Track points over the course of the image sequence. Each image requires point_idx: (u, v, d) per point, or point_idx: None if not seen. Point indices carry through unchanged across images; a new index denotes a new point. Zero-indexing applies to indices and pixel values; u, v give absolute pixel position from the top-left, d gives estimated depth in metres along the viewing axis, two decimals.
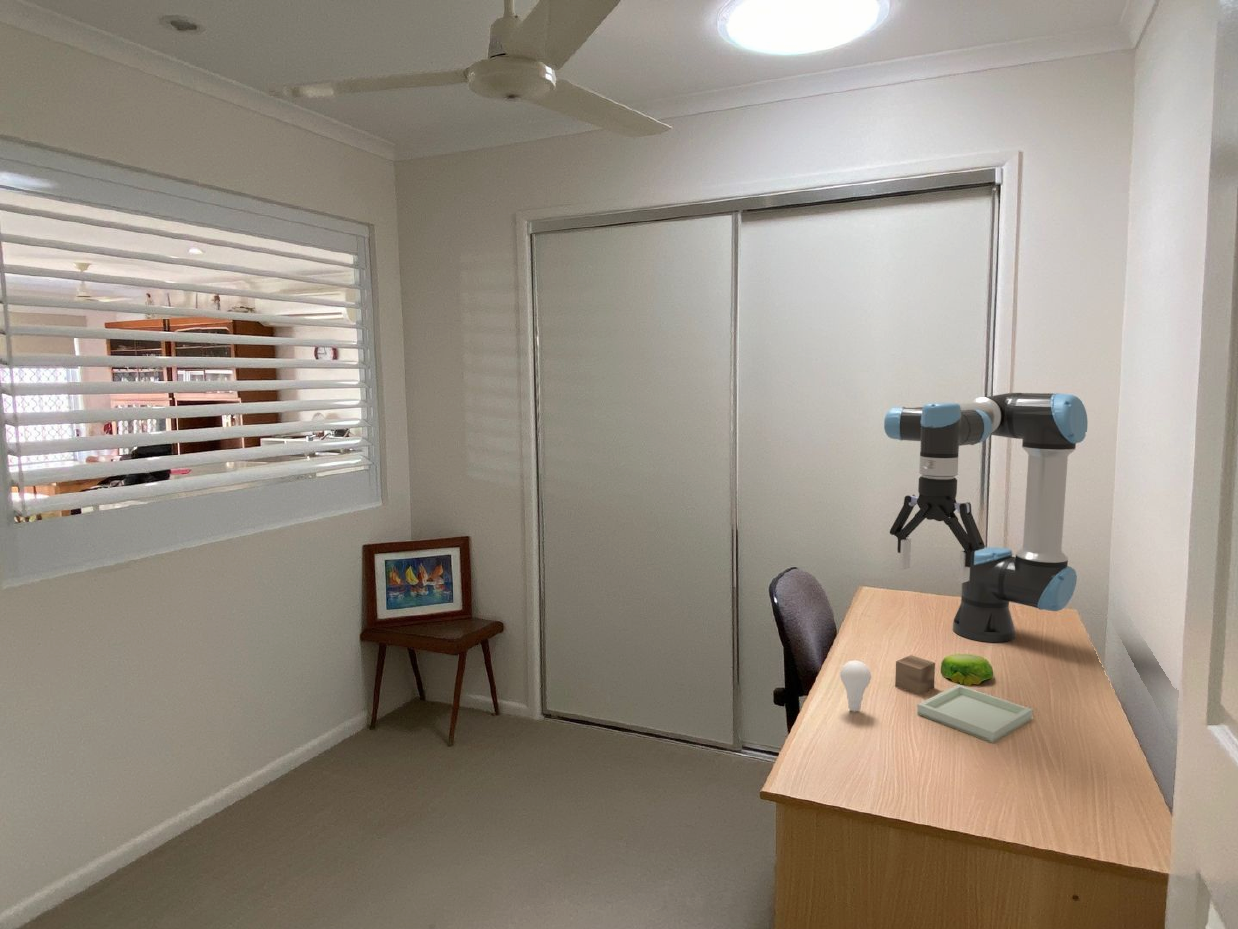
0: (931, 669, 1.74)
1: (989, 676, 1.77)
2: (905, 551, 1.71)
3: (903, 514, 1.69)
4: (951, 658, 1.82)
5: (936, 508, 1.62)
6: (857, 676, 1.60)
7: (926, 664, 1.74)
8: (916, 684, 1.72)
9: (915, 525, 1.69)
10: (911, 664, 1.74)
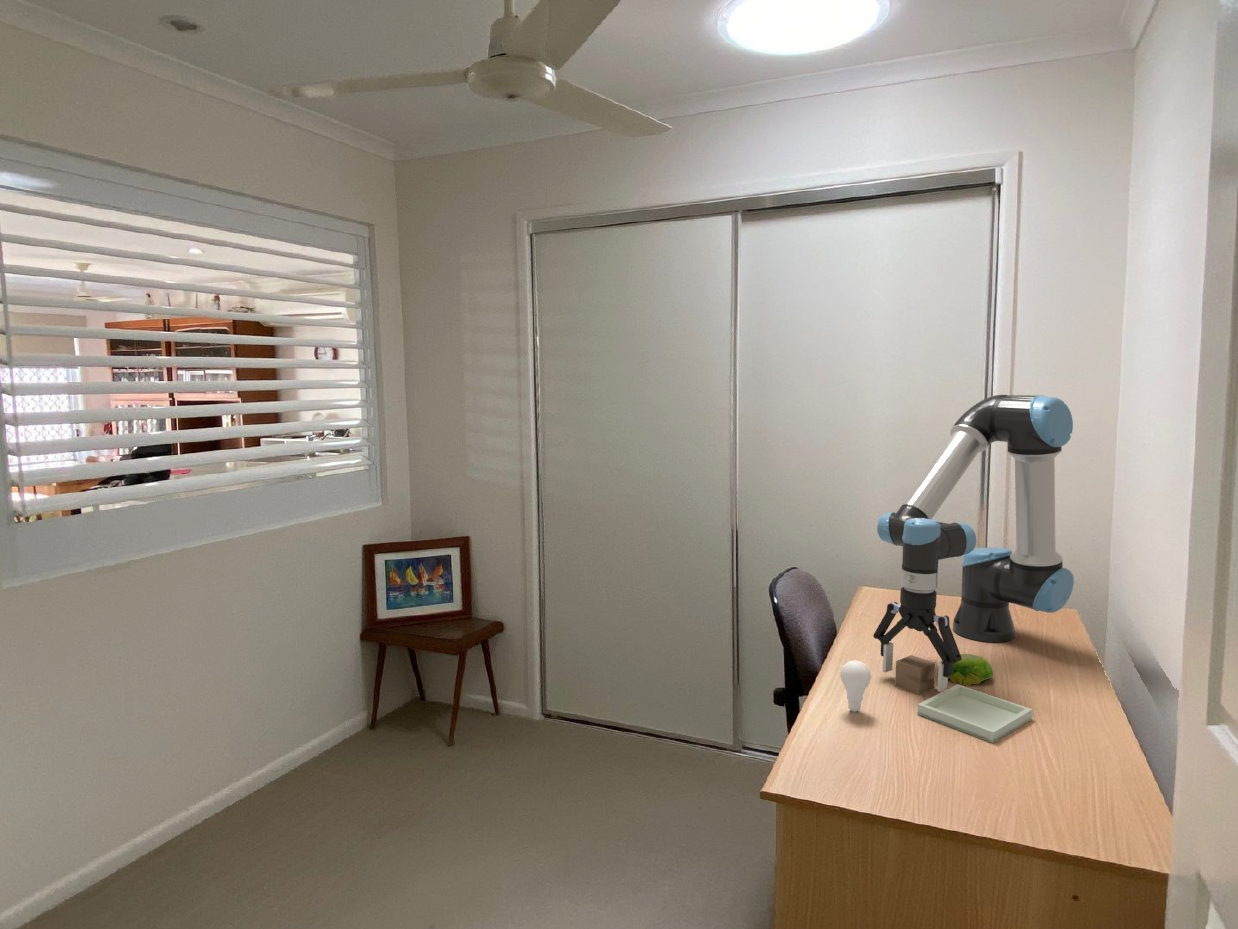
0: (931, 669, 1.74)
1: (988, 676, 1.77)
2: (888, 655, 1.80)
3: (886, 621, 1.79)
4: None
5: (916, 619, 1.72)
6: (857, 676, 1.60)
7: (926, 664, 1.74)
8: (916, 684, 1.72)
9: (897, 632, 1.78)
10: (911, 664, 1.74)
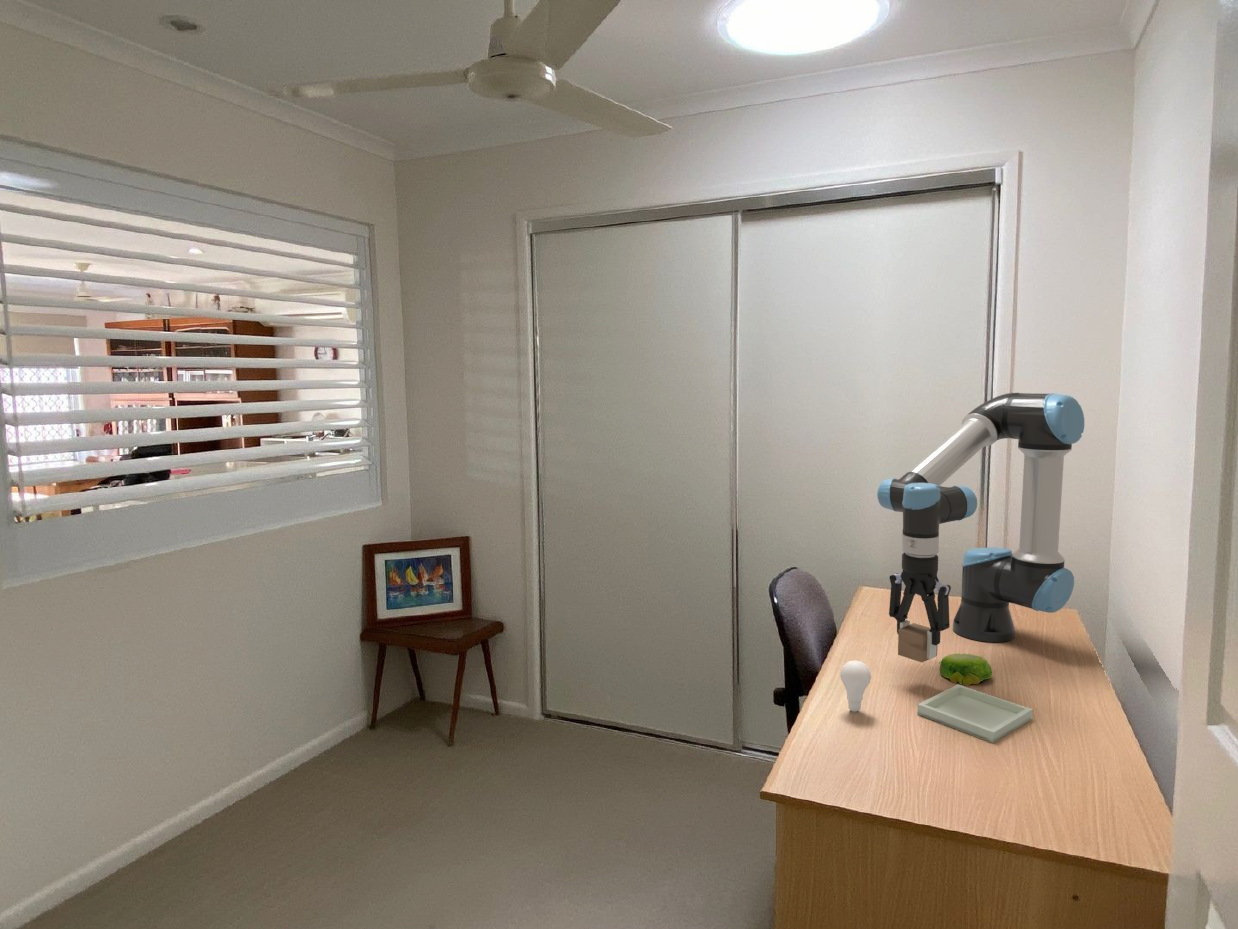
0: None
1: (988, 676, 1.77)
2: None
3: (894, 594, 1.77)
4: (950, 658, 1.82)
5: (919, 584, 1.71)
6: (857, 676, 1.60)
7: None
8: (918, 651, 1.72)
9: (908, 603, 1.76)
10: (914, 632, 1.73)
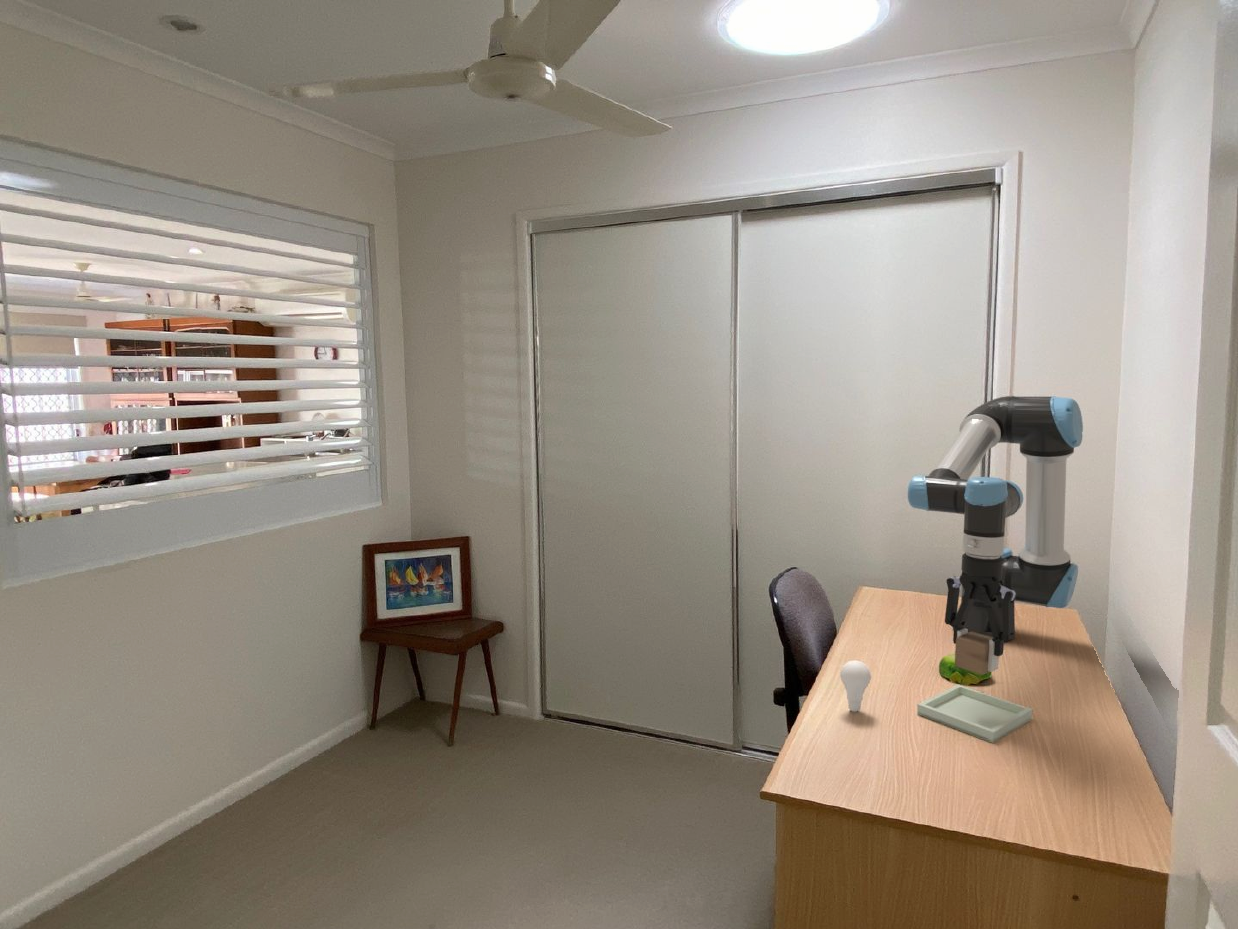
0: None
1: (987, 676, 1.77)
2: None
3: (951, 599, 1.61)
4: (949, 658, 1.82)
5: (981, 588, 1.55)
6: (857, 676, 1.60)
7: None
8: (979, 662, 1.56)
9: (967, 610, 1.60)
10: (974, 641, 1.57)
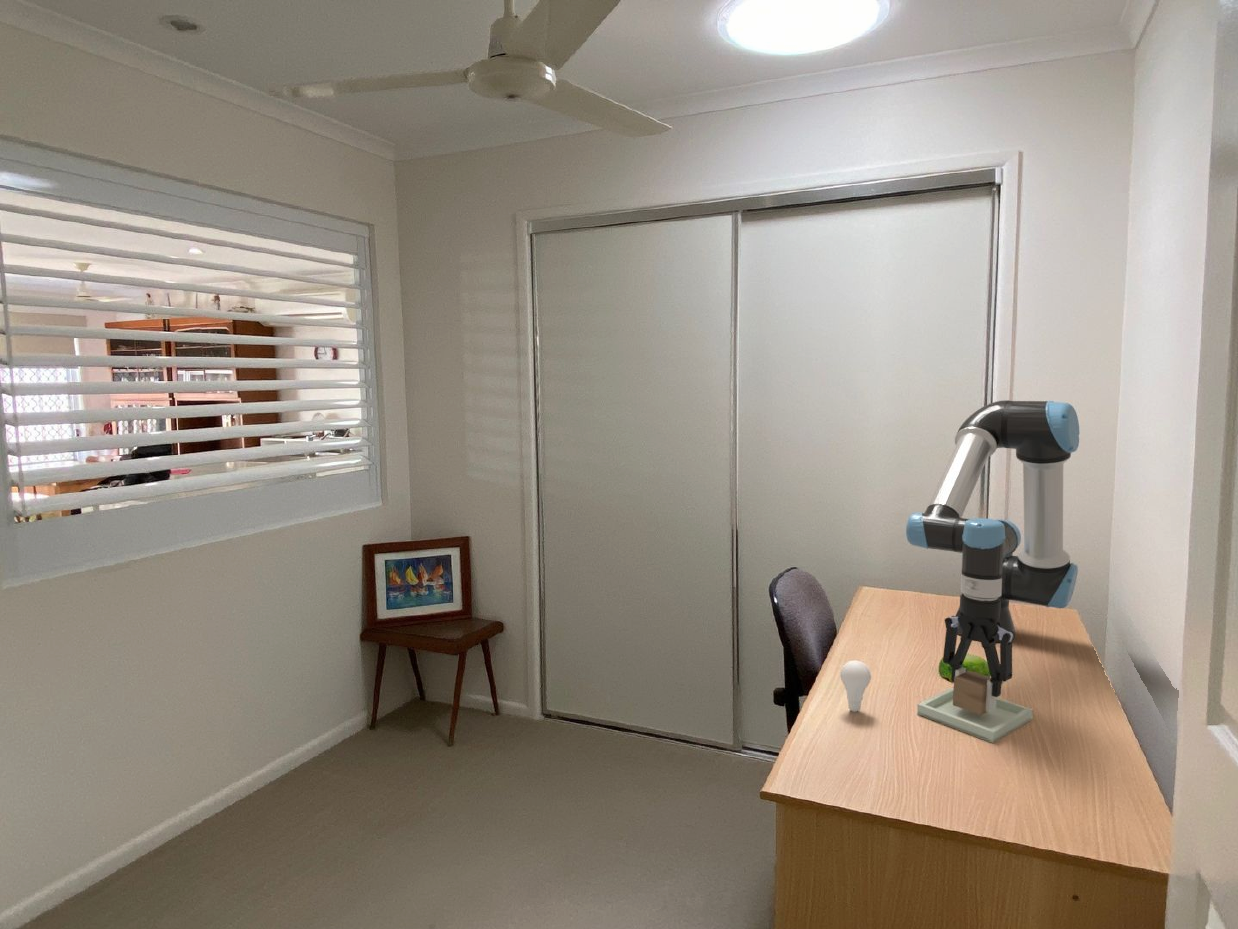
0: None
1: None
2: None
3: (949, 638, 1.62)
4: None
5: (979, 629, 1.56)
6: (857, 676, 1.60)
7: None
8: (977, 702, 1.57)
9: (965, 650, 1.61)
10: (972, 681, 1.58)
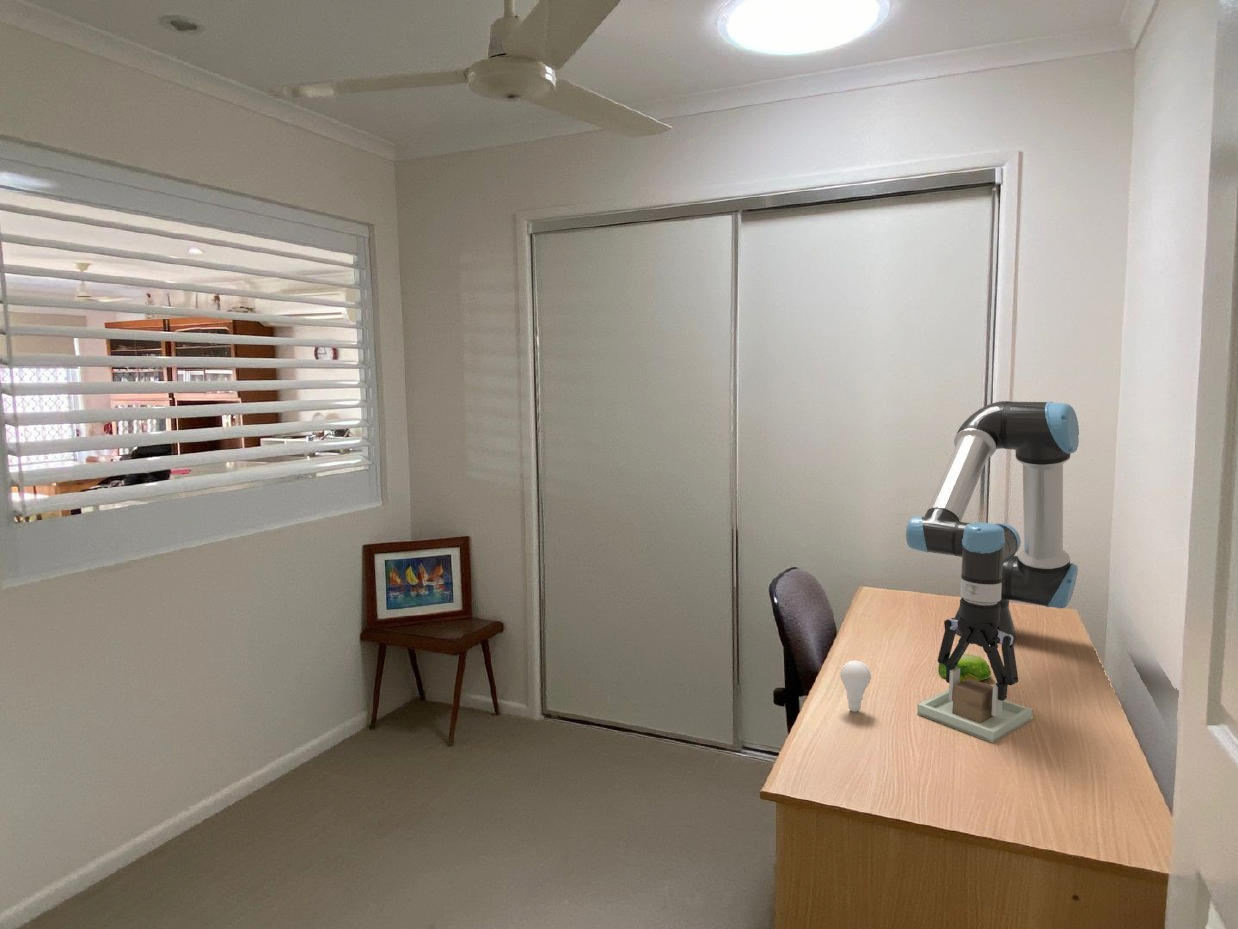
0: None
1: (987, 676, 1.77)
2: (954, 682, 1.63)
3: (947, 640, 1.63)
4: None
5: (979, 634, 1.57)
6: (857, 676, 1.60)
7: (987, 689, 1.59)
8: (976, 711, 1.57)
9: (961, 652, 1.62)
10: (971, 689, 1.59)
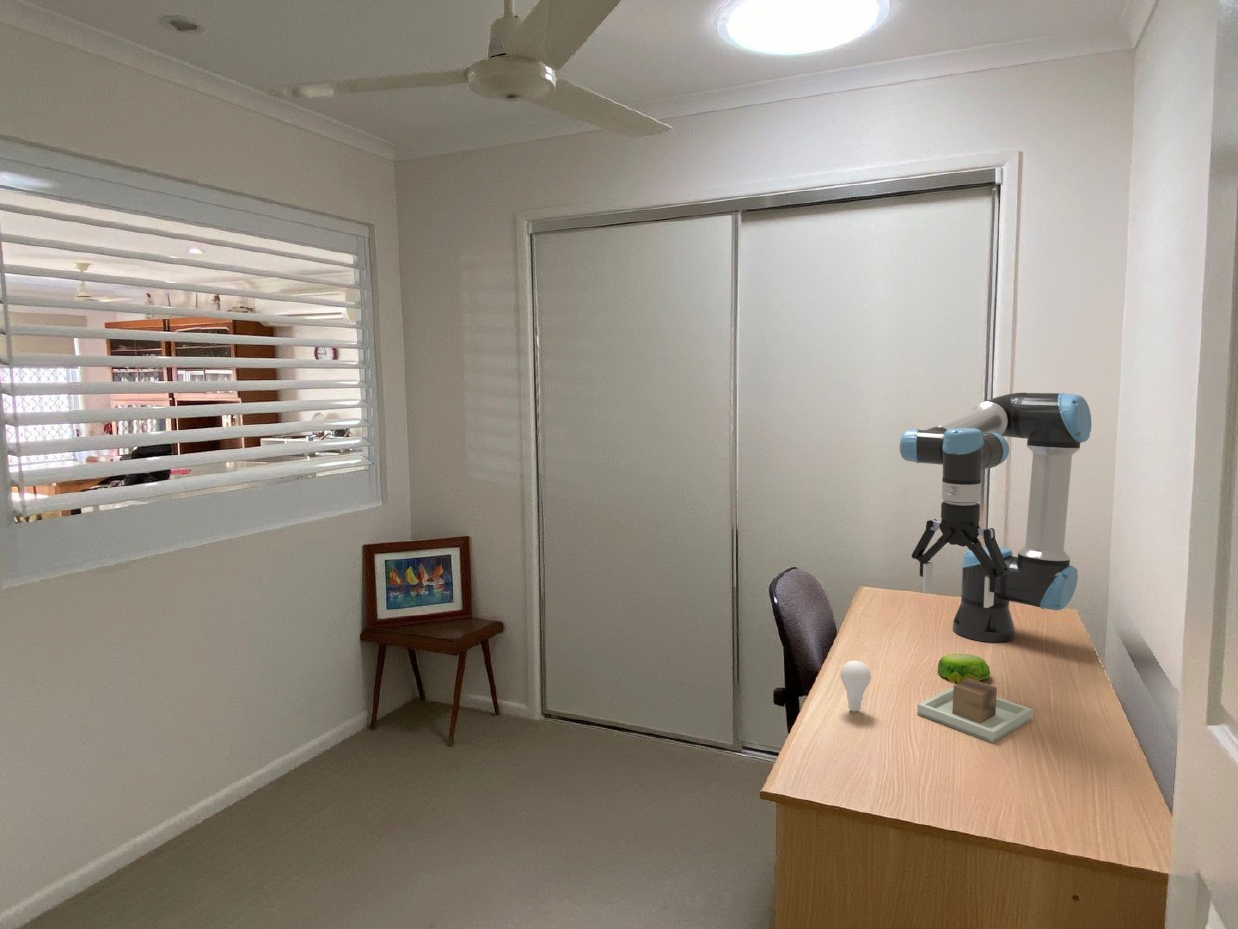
0: (993, 694, 1.59)
1: (986, 676, 1.77)
2: (927, 575, 1.71)
3: (925, 538, 1.70)
4: (948, 658, 1.82)
5: (959, 534, 1.63)
6: (857, 676, 1.60)
7: (987, 689, 1.59)
8: (976, 711, 1.57)
9: (937, 549, 1.69)
10: (971, 689, 1.59)
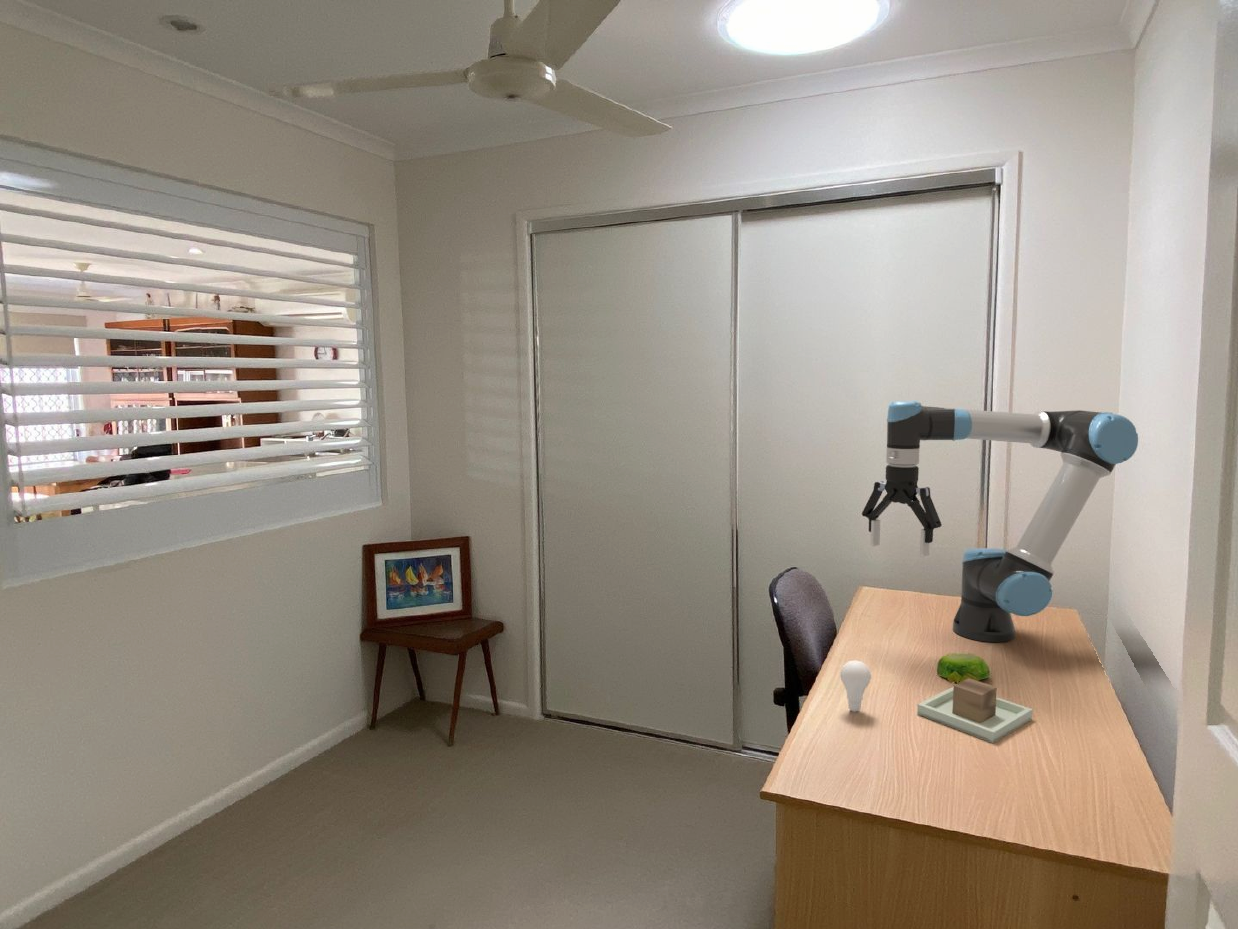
0: (993, 694, 1.59)
1: (985, 676, 1.77)
2: (875, 530, 1.96)
3: (873, 498, 1.95)
4: (948, 658, 1.82)
5: (900, 492, 1.88)
6: (857, 676, 1.60)
7: (987, 689, 1.59)
8: (976, 711, 1.57)
9: (883, 507, 1.94)
10: (971, 689, 1.59)
